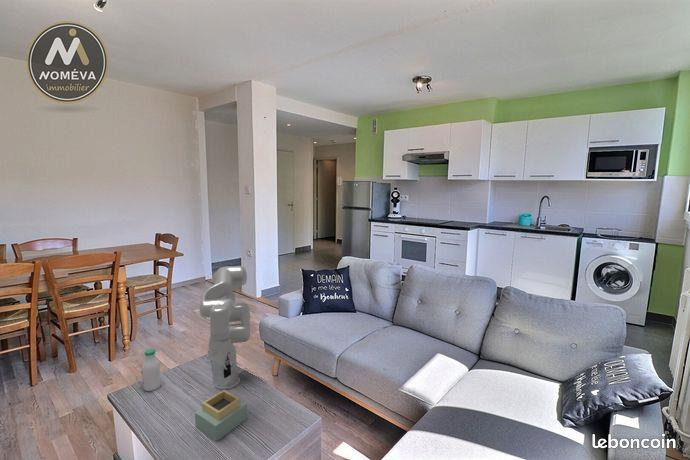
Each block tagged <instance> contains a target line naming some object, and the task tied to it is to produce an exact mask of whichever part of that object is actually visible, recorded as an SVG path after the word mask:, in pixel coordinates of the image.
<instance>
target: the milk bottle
mask: <svg viewBox="0 0 690 460" xmlns="http://www.w3.org/2000/svg"><path fill="white" fill-rule="evenodd" d="M144 357H145V358H144V361H143V363H142V367H141V368H142V369H141V372H142V373H141V375H142V388H143V391H145V392H153V391H155V390H157V389H159V388H160V387H161V383H162V381H161V380H162V379H161V378H162V377H161V365H160V361H159V360H158V358H157V356H156V348H148V349H146V350H144Z"/></svg>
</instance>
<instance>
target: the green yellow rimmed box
mask: <svg viewBox="0 0 690 460" xmlns="http://www.w3.org/2000/svg"><path fill="white" fill-rule="evenodd" d="M201 405H202V407H200V409H198V410H196V411H195V412H194V419H195V420H194V421H195V428H196V429H197V430H198V431H201V432H202V433H203V434H205V435H206V436H208V437H209V438H210V439H212V440H214V441H215V442H218V441H219V440H220V439H222V438H223V437H224V436H225V435H227V434H229V433H230V432H231V431H232V430H234V429H235V428H237V426H239V425H240V424H242V423H243V422H245V421H246V420H247V419H248V403H246V402H244V401H242V400H241V398H240V397H238V396H236V395H234V394H232V393H230V392H229V391H227V390H226V389H225V390H223V389H222V390H221V391H220V392H218V393H216V394H215V395H213V396H211V397H210V398H208V399H206V400H205V401H203V402H201Z"/></svg>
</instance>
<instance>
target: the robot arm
mask: <svg viewBox="0 0 690 460" xmlns="http://www.w3.org/2000/svg"><path fill="white" fill-rule="evenodd" d="M212 281H213V285H212V286H211V287H209V288H208V289H206V291H204V292H203V294H202V297H201V299H200V305H199V313H200V314H199V315H200V316H201V317H202V318H205V319H206V318H207V319H208V318H209V325H210V328H209V329H210V330H209V331H210V336H209V341H208V350H207V354H208V358H209V359H210V363H211V364H212V358H213V359H214V361H215V362H217V363H219V364H222V365H224V368H225V369H224V378H227V377H228V376H230V381H229V382H228V384H227V385H214V387H215V388H217V390H222V391H223V390H225V391H226V390H230V389H233V388H235V387H236V386H238V385H239V383H241V377H240V374H242V373H243V372H245V368H244V367H243V368H238V367H237V365H238V364H237V363H238V362H237V348H236V346H235V345H234V344H237V343H238V344H241V343H247V342H248V341H249V340H250V338H251V316H250V315H251V314H250V313H251V311H250V310H251V309H250V307H249V305H248V303H246V302H236V294H235V293H234V291H233V288H234V287H236V286H244V285H246V283H247V282H248V274H247V269H246V268H245V267H244V266H243V265H231V266H227V265H226V266H221V267H219V268H218V269H217V271H215V272H214V273H213V276H212ZM236 322H237V323H236ZM238 322H240V323H238ZM226 360H227V361H226ZM227 362H228V365H226V363H227Z"/></svg>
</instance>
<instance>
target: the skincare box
mask: <svg viewBox="0 0 690 460" xmlns="http://www.w3.org/2000/svg"><path fill="white" fill-rule="evenodd" d="M226 361H227V360H226ZM226 365H228V362H227V363H226ZM224 369H225V368H224V365H222V364H219V363H217V362H215V361H214V359H213V358H212V363H211V373H212V385H214V386H215V385H227V384H228V382H229V381H230V376H228V377H227V378H224Z"/></svg>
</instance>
